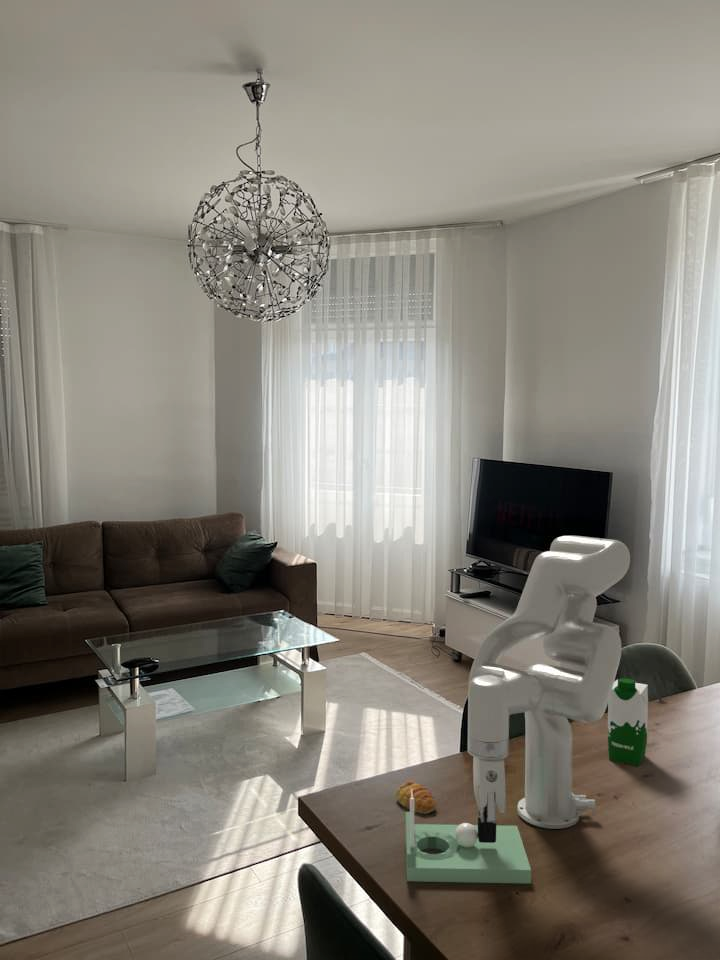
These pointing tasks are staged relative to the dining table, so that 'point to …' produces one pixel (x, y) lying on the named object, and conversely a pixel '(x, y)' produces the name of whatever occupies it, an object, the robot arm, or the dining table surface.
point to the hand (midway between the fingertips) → (486, 840)
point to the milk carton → (627, 721)
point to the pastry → (416, 797)
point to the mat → (465, 856)
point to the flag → (412, 820)
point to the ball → (466, 835)
